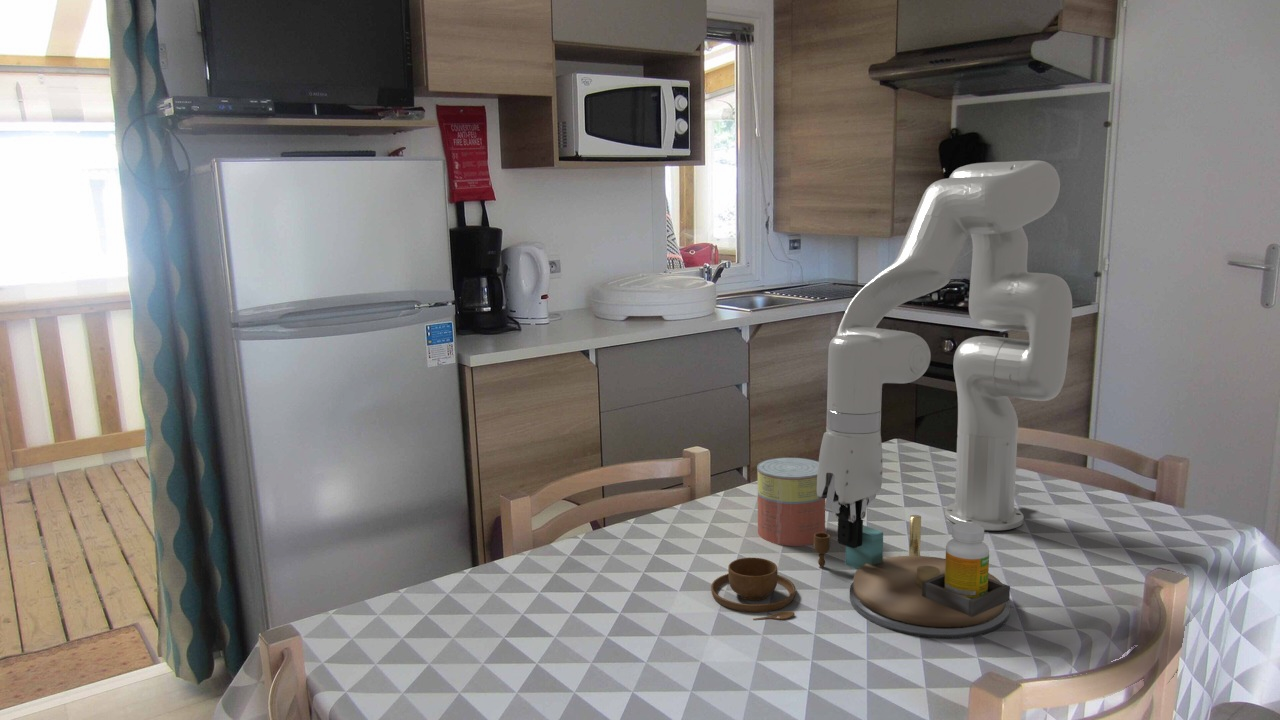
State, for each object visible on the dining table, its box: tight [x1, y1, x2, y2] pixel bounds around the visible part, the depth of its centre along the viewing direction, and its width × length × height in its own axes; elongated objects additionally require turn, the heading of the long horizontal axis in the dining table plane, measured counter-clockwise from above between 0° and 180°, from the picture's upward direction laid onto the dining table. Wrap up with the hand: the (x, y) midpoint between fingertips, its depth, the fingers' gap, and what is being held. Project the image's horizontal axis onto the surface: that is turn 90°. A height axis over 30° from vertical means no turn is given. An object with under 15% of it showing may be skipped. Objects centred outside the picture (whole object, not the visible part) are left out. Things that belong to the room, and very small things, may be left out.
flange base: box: [849, 514, 1010, 639], centre depth 125 cm, size 21×21×8 cm
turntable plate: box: [845, 524, 1011, 627], centre depth 127 cm, size 24×20×6 cm
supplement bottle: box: [945, 523, 990, 599], centre depth 120 cm, size 5×5×10 cm
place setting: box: [710, 532, 831, 621], centre depth 130 cm, size 18×20×6 cm
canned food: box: [756, 456, 826, 547], centre depth 151 cm, size 11×11×12 cm
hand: (849, 544), depth 133 cm, fingers closed
